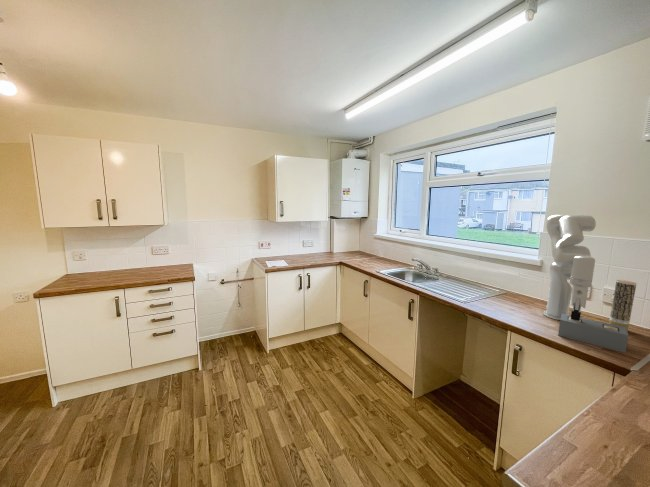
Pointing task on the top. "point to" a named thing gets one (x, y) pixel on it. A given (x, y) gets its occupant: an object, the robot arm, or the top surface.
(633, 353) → the top surface
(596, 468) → the top surface
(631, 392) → the top surface
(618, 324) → the bark textured peg
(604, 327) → the peg outer
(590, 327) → the block
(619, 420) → the top surface
